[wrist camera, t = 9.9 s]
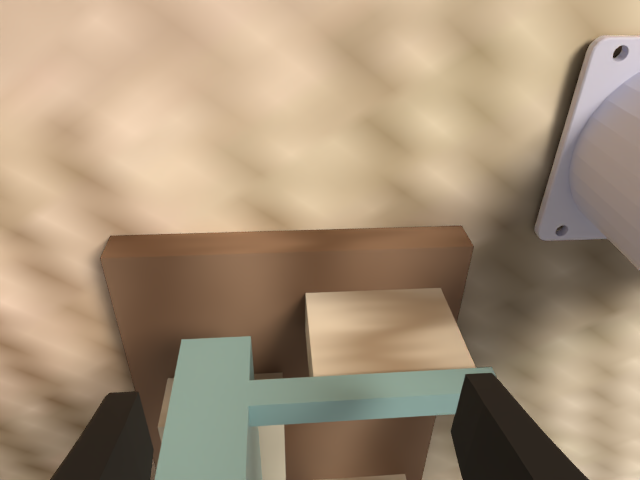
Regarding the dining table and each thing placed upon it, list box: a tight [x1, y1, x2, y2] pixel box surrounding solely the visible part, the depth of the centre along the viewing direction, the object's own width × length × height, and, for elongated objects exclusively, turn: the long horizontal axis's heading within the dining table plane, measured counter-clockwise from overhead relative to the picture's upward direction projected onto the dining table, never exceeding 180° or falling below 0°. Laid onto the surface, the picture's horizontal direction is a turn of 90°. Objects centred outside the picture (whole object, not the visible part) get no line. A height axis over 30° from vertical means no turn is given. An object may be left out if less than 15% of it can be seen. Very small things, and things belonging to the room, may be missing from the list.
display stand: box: [100, 226, 476, 480], centre depth 23 cm, size 14×19×6 cm
